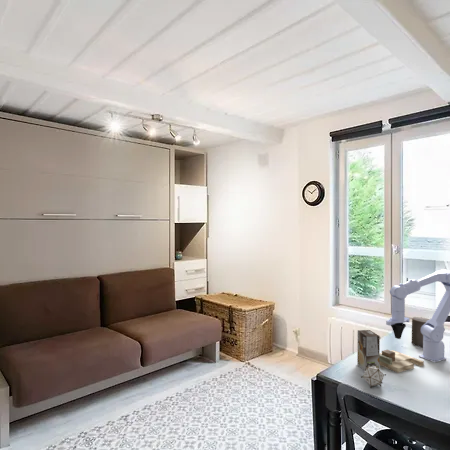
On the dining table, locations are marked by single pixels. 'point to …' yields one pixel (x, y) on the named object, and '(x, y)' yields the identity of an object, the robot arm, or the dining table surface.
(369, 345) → the coffee box
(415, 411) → the dining table surface
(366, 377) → the game die
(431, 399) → the dining table surface
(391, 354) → the walnut block
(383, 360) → the trap deck
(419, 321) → the dark brown upright box
